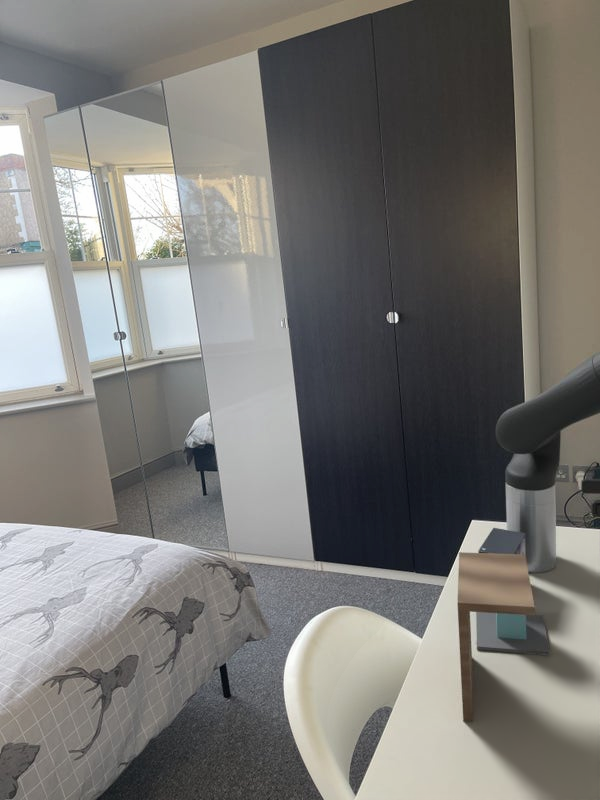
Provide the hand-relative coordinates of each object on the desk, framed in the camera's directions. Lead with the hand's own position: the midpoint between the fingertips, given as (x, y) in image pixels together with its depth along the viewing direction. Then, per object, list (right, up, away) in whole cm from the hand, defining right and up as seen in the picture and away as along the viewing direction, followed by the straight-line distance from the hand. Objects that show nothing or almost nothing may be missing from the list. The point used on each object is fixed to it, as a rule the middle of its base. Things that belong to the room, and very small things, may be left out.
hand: (586, 496), depth 92 cm
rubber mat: (-9, -24, +8) cm, 27 cm away
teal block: (-9, -24, +8) cm, 27 cm away
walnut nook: (-15, -28, -4) cm, 32 cm away
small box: (-6, -21, +21) cm, 31 cm away
